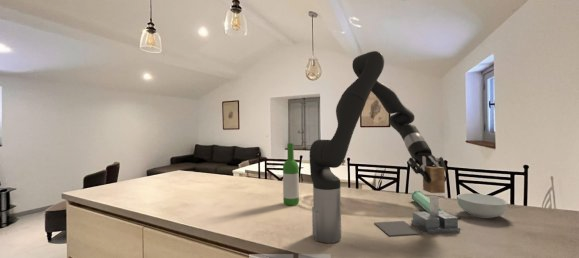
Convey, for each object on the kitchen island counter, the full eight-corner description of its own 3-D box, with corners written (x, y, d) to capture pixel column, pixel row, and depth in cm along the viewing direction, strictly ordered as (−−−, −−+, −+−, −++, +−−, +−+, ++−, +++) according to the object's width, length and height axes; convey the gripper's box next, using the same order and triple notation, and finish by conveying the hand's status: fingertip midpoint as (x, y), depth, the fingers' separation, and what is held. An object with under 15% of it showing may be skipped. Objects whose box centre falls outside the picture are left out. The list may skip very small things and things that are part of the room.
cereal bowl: (459, 218, 104) (459, 200, 104) (455, 207, 118) (455, 191, 118) (513, 225, 96) (513, 206, 96) (502, 212, 111) (501, 195, 111)
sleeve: (431, 193, 92) (431, 168, 92) (423, 190, 97) (422, 166, 97) (444, 192, 92) (444, 167, 92) (435, 189, 97) (435, 165, 97)
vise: (427, 234, 89) (427, 200, 89) (411, 223, 99) (410, 193, 99) (470, 231, 90) (470, 198, 90) (450, 221, 100) (449, 192, 100)
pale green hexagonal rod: (442, 204, 104) (420, 188, 128) (427, 209, 105) (409, 192, 129) (448, 217, 103) (425, 199, 128) (433, 222, 104) (414, 203, 129)
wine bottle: (281, 205, 125) (280, 143, 125) (286, 201, 132) (285, 143, 132) (296, 206, 122) (295, 143, 123) (300, 202, 130) (299, 143, 130)
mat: (389, 236, 87) (389, 235, 87) (374, 223, 99) (374, 222, 99) (422, 234, 89) (422, 233, 89) (403, 221, 101) (403, 220, 101)
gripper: (403, 140, 101) (422, 176, 89) (437, 139, 103) (461, 175, 91) (396, 152, 106) (414, 188, 94) (429, 152, 108) (450, 186, 96)
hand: (437, 181), depth 93 cm, fingers closed on sleeve, 5 cm apart
